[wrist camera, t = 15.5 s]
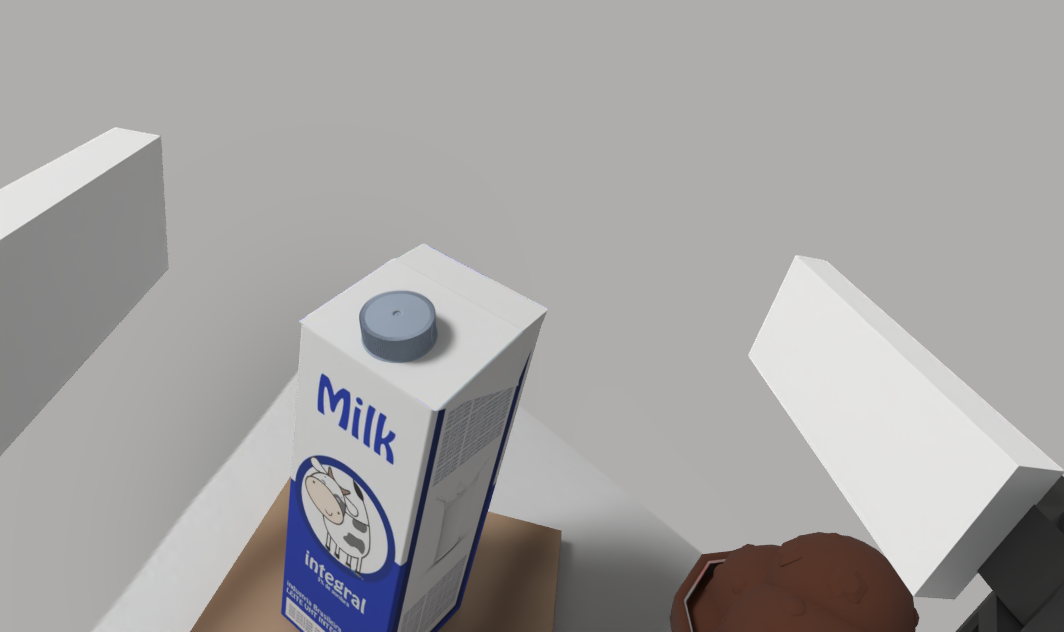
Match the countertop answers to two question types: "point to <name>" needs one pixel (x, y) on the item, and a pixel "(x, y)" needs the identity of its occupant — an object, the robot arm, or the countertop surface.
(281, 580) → the walnut board
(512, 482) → the countertop surface
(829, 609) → the ice cream bowl
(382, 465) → the milk carton
